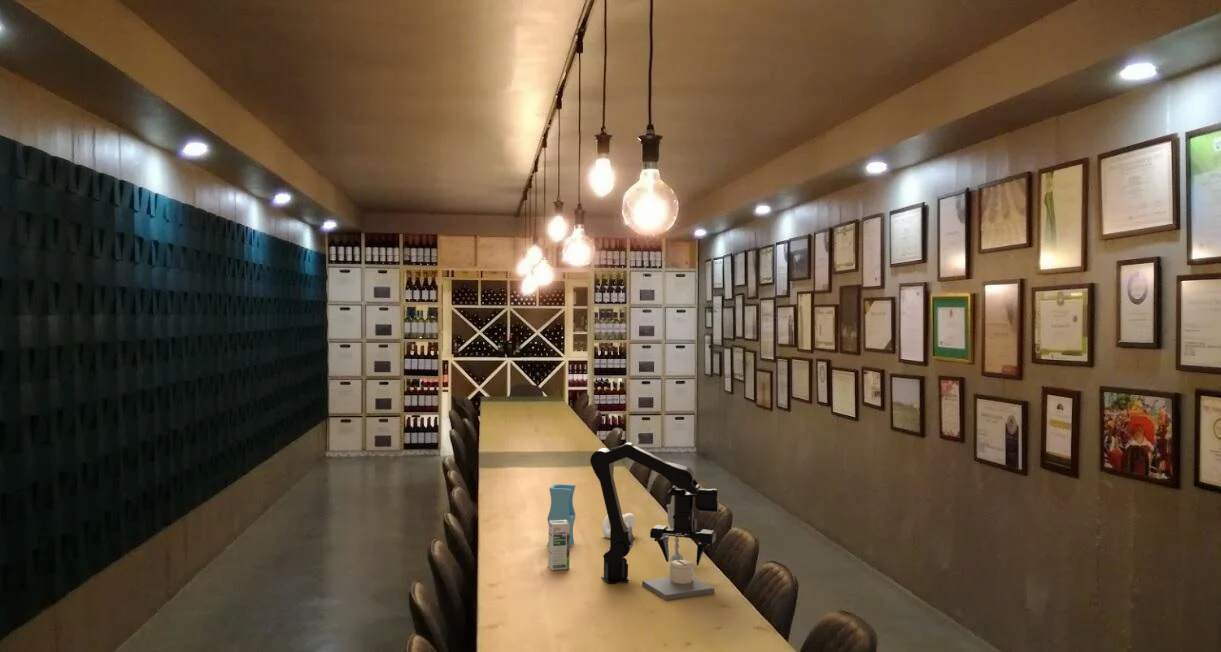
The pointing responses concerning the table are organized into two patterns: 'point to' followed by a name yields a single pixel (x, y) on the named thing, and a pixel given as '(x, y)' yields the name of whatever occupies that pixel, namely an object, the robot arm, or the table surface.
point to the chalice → (676, 554)
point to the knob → (681, 571)
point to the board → (677, 588)
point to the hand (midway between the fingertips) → (682, 563)
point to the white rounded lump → (628, 520)
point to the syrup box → (559, 544)
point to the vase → (562, 505)
